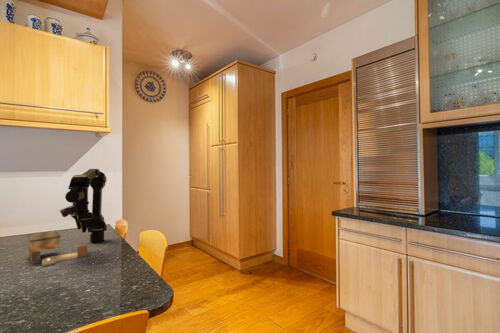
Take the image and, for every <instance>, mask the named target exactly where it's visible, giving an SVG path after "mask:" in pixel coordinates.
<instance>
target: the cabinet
mask: <svg viewBox="0 0 500 333" xmlns="http://www.w3.org/2000/svg"><path fill="white" fill-rule="evenodd" d="M61 236H62V235H61V234H60V233H59V232H58V231H56V230H50V231H49V230H48V231H43V232H42V231H41V232H36V233H29V234H27V238H28V258H29V261H30V263H31V264H32V265H33V264H37V263H41V252H43V251H49V250H54V249H60V238H61Z"/></svg>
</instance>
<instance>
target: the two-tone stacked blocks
mask: <svg viewBox="0 0 500 333" xmlns="http://www.w3.org/2000/svg"><path fill="white" fill-rule="evenodd" d="M76 247H77V251H76V252H73V253H65V254H59V255H53V256H51V257H56V262H59V261H65V260H71V259H72V260H73V259H78V258H82V257H87V256H88V243H85V244H84V243H83V244H82V243H81V244H78V245H77V246H76ZM48 257H49V256H46V257H45V258H48Z"/></svg>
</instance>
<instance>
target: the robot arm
mask: <svg viewBox="0 0 500 333" xmlns="http://www.w3.org/2000/svg"><path fill="white" fill-rule="evenodd" d="M106 183H107V176H106V174H105V173H104V172H102V171H100V169H99V168H89V169H88V170H87V171H84V173H81V174H75V175H72V177H71V178H70V182H69V186H68V190H69V191H67V192H66V193H65V195H64V197H65V201H67V202H68V203H72V205H70V206H67V207H65V208H61V209H59V213H60V214H61V216H62V218H66V217H68V216H70V217H71V218H72V219H74V221H75V224H76V227H77V230H81V232H82V233H86V231H87V232H88V233H90V234H89V243H91V244H96V243H102V242H106V239H105V232H107V230H108V228H107V223H106V221H105V217H104V216H103V215H102V200H103V189H104V188H105V186H106ZM89 187H91V188H92V207H91V212H90V209H89V204H90V201H89Z"/></svg>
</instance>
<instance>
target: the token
mask: <svg viewBox="0 0 500 333" xmlns="http://www.w3.org/2000/svg"><path fill="white" fill-rule="evenodd" d="M47 257H48V258H46V257H45V258H42V259H41V266H42V267H48V266H49V267H50V266H53V265H55V264H56V263H57V261H56V257H52V256H47Z"/></svg>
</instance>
